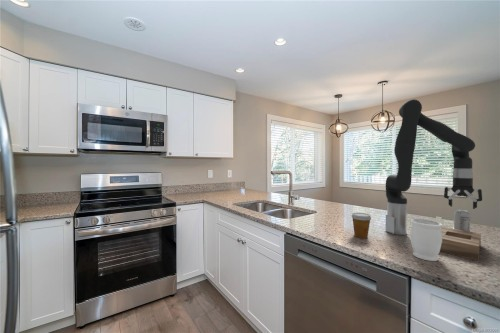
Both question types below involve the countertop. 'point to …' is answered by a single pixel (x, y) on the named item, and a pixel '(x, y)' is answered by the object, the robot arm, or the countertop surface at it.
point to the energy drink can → (462, 220)
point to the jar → (426, 239)
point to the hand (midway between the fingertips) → (462, 207)
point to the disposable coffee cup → (361, 224)
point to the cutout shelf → (461, 243)
